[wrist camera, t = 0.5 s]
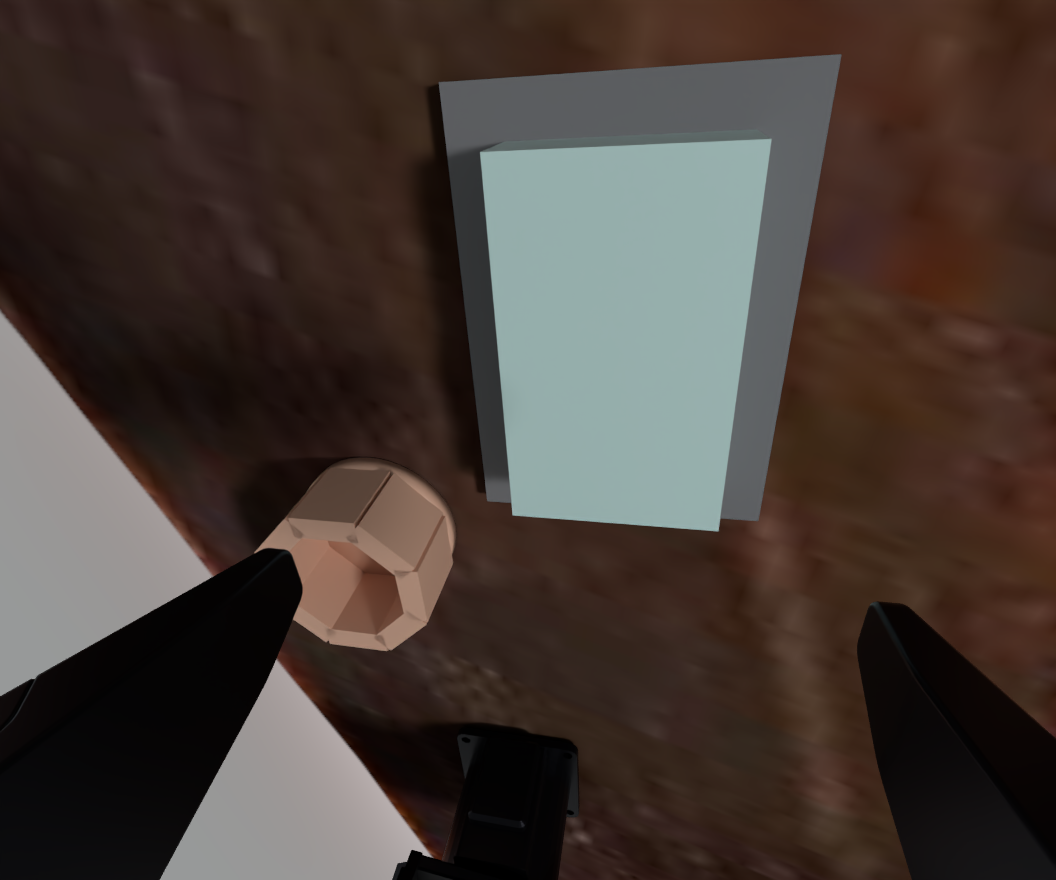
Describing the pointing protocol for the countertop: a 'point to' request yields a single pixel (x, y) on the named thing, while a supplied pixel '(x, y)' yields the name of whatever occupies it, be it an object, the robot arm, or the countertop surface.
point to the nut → (368, 552)
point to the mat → (644, 109)
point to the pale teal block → (622, 318)
